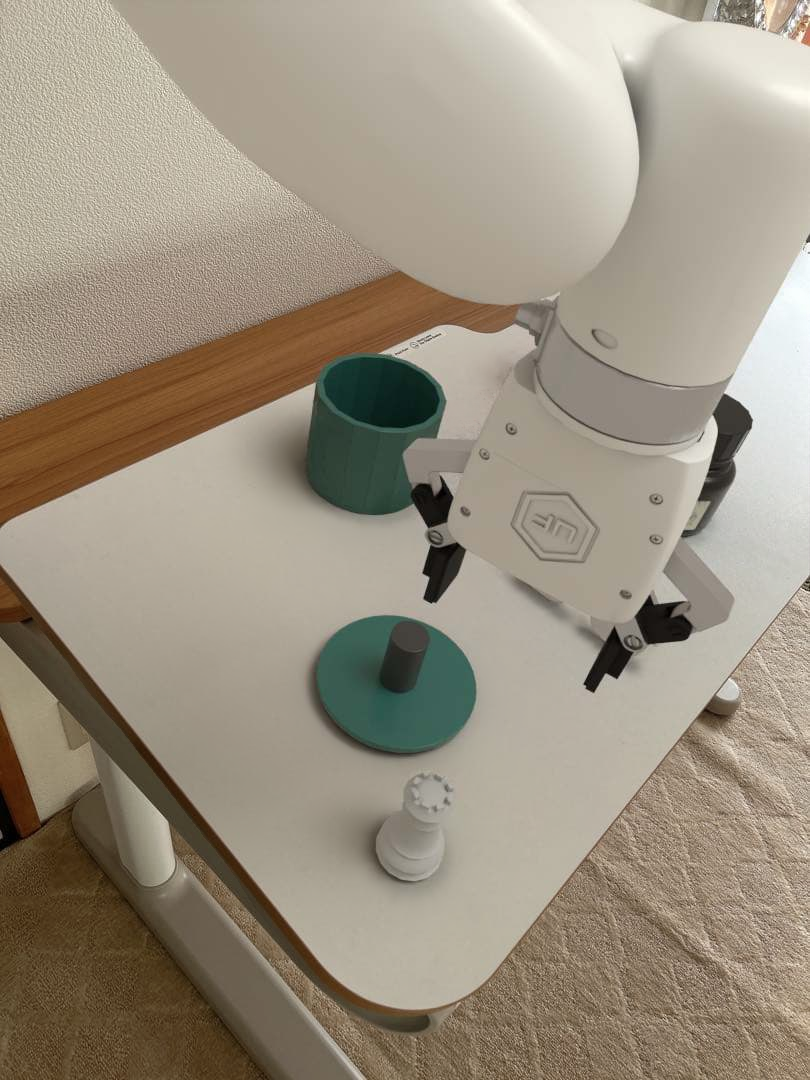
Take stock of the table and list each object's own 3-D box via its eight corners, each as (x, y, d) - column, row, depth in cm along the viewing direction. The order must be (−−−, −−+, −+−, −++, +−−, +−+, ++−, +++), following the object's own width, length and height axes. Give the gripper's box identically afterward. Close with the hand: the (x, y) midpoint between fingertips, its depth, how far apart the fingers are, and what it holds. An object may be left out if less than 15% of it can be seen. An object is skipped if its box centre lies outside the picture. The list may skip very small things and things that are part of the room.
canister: (280, 471, 81) (290, 386, 74) (353, 419, 88) (368, 338, 82) (378, 533, 78) (398, 450, 71) (445, 474, 85) (469, 394, 78)
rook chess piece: (400, 805, 60) (424, 742, 54) (454, 847, 58) (484, 786, 53) (360, 854, 57) (380, 792, 51) (416, 899, 55) (443, 840, 50)
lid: (281, 692, 64) (289, 639, 60) (377, 600, 72) (390, 548, 68) (416, 789, 61) (435, 741, 56) (501, 682, 69) (523, 632, 64)
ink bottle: (600, 492, 87) (645, 394, 79) (652, 463, 92) (700, 368, 84) (677, 554, 83) (734, 457, 75) (728, 520, 88) (786, 426, 80)
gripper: (406, 320, 36) (347, 595, 48) (818, 513, 32) (641, 761, 44) (483, 258, 41) (413, 520, 53) (847, 418, 37) (682, 662, 49)
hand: (516, 629), depth 48 cm, fingers open, 9 cm apart
